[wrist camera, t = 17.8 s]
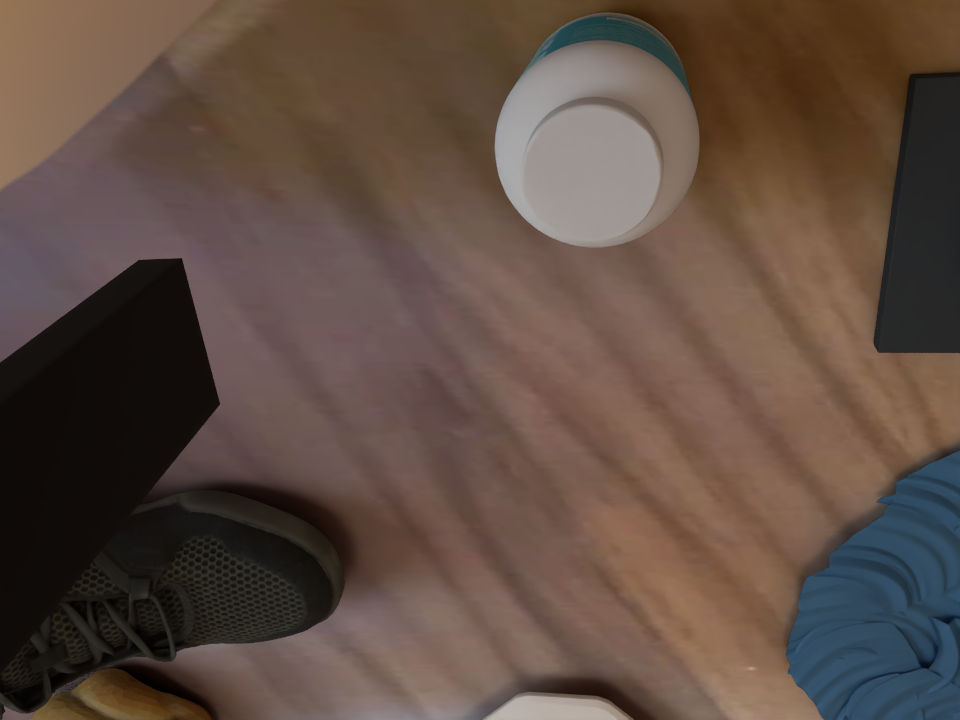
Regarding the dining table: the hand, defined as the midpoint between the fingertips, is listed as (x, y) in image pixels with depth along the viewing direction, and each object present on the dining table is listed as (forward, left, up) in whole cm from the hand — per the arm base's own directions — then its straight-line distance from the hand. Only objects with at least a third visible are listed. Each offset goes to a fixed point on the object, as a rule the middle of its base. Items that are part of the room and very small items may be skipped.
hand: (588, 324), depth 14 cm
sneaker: (+29, -31, -30) cm, 52 cm away
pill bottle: (+2, -1, -30) cm, 30 cm away
